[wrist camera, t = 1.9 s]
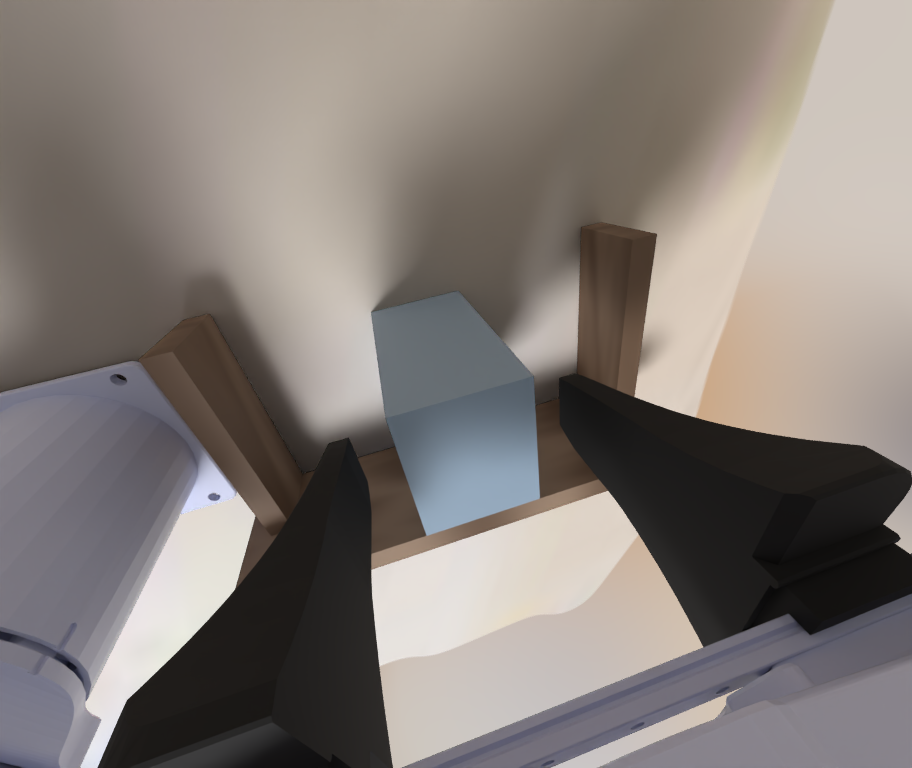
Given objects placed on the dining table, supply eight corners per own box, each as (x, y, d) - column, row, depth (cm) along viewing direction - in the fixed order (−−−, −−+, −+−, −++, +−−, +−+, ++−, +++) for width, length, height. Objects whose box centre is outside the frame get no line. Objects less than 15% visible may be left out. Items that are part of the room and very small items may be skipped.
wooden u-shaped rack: (272, 497, 19) (244, 611, 14) (156, 326, 14) (44, 415, 9) (606, 397, 22) (682, 465, 17) (621, 217, 16) (742, 239, 11)
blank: (399, 402, 18) (426, 535, 12) (371, 312, 16) (385, 418, 9) (473, 382, 19) (539, 498, 12) (458, 290, 16) (533, 376, 9)
